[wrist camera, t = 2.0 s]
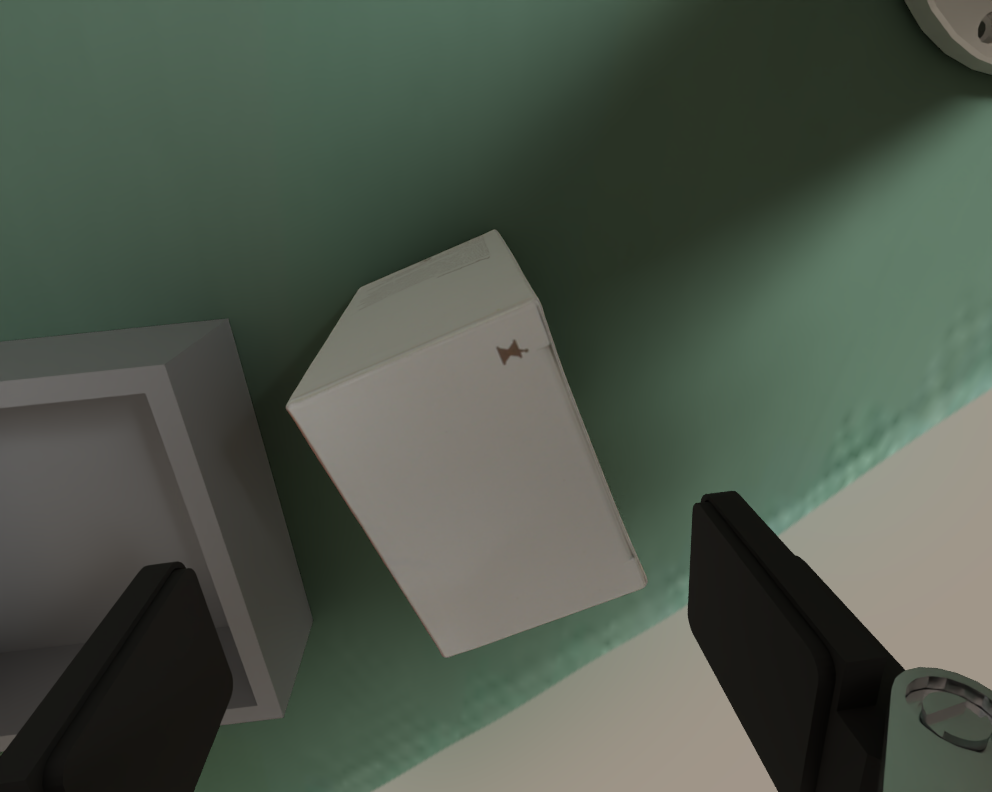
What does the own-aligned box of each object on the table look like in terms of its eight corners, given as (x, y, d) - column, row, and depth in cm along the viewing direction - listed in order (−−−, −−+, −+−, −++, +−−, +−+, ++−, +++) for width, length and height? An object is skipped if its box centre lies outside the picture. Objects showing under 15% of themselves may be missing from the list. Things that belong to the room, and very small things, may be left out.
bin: (228, 318, 21) (164, 364, 16) (313, 620, 27) (283, 717, 22) (-180, 359, 21) (-362, 418, 16) (-4, 657, 26) (-101, 763, 22)
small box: (356, 285, 21) (271, 399, 11) (498, 224, 20) (537, 287, 11) (446, 461, 24) (440, 669, 14) (572, 412, 23) (653, 593, 14)
